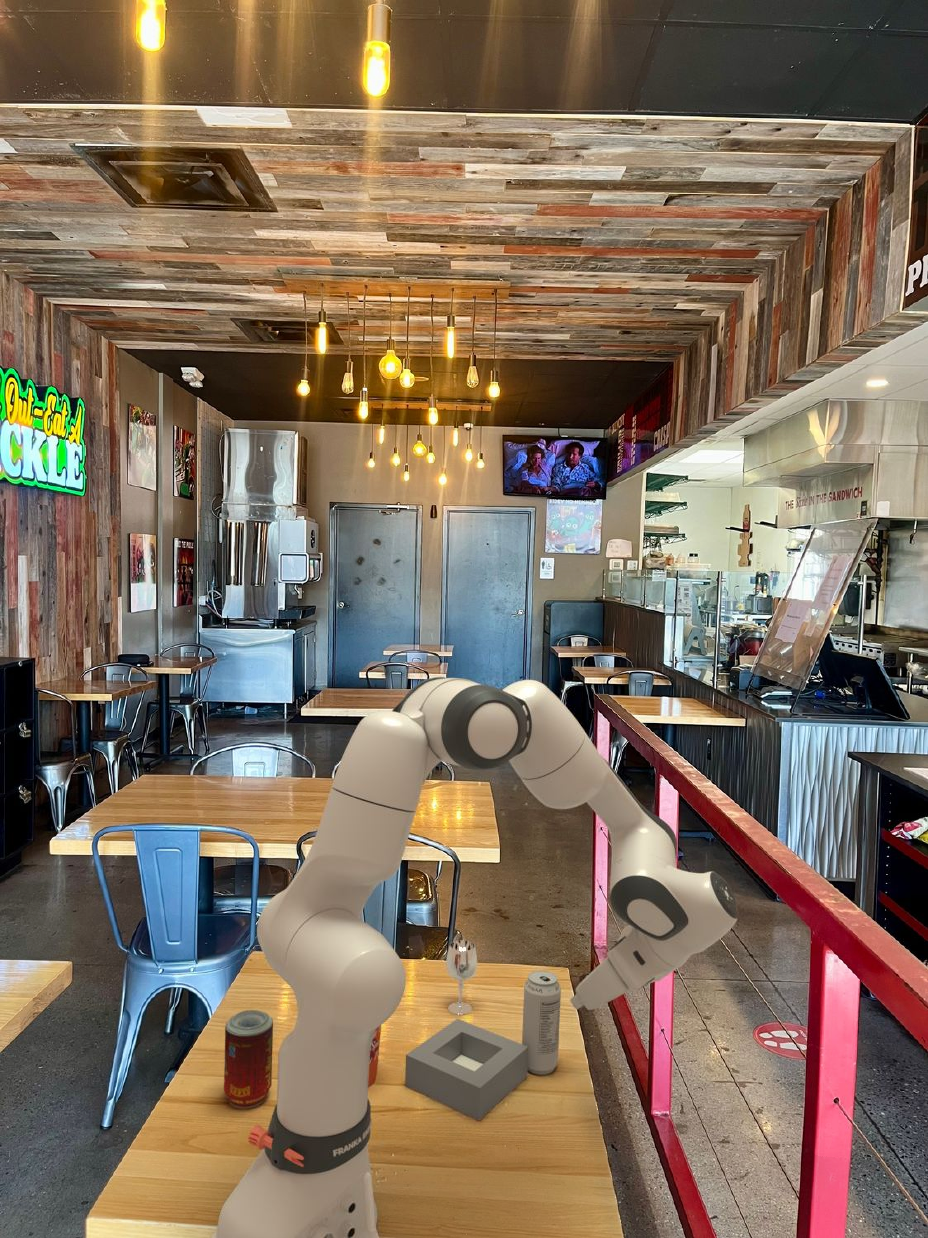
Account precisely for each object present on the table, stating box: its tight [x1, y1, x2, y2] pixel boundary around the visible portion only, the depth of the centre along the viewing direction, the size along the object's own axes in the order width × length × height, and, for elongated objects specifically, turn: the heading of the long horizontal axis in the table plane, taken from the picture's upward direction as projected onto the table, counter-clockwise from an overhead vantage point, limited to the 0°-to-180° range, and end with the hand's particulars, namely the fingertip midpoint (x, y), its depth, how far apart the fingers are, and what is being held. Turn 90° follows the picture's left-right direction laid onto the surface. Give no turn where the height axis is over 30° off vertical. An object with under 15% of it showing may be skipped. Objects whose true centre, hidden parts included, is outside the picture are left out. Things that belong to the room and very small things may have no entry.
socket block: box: [404, 1018, 528, 1121], centre depth 134 cm, size 14×14×5 cm
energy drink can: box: [521, 969, 562, 1076], centre depth 139 cm, size 6×6×15 cm
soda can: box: [223, 1009, 274, 1109], centre depth 128 cm, size 7×7×12 cm
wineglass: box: [445, 939, 478, 1016], centre depth 157 cm, size 6×6×12 cm
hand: (588, 991), depth 134 cm, fingers open, 8 cm apart
